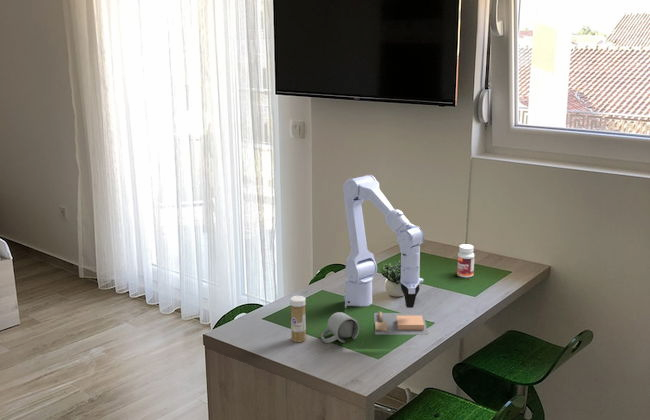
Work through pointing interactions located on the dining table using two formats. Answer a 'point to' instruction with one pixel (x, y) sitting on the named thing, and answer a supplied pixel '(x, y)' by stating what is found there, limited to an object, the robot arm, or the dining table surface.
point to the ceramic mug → (340, 328)
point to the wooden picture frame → (410, 323)
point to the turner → (380, 323)
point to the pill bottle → (465, 261)
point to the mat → (392, 324)
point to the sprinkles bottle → (298, 318)
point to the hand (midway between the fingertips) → (409, 306)
